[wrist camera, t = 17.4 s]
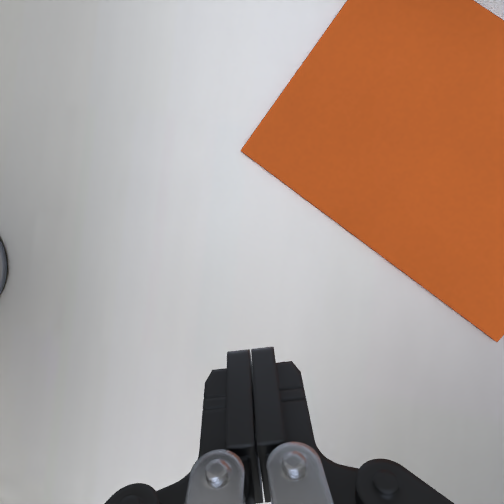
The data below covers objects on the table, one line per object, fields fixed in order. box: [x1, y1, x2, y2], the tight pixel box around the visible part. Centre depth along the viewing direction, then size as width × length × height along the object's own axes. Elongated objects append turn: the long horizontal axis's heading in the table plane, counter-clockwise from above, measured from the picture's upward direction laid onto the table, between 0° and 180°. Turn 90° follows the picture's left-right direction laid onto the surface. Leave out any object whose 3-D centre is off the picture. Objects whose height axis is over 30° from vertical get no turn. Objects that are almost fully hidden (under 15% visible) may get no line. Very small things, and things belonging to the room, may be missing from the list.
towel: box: [241, 0, 504, 342], centre depth 30 cm, size 24×18×1 cm
